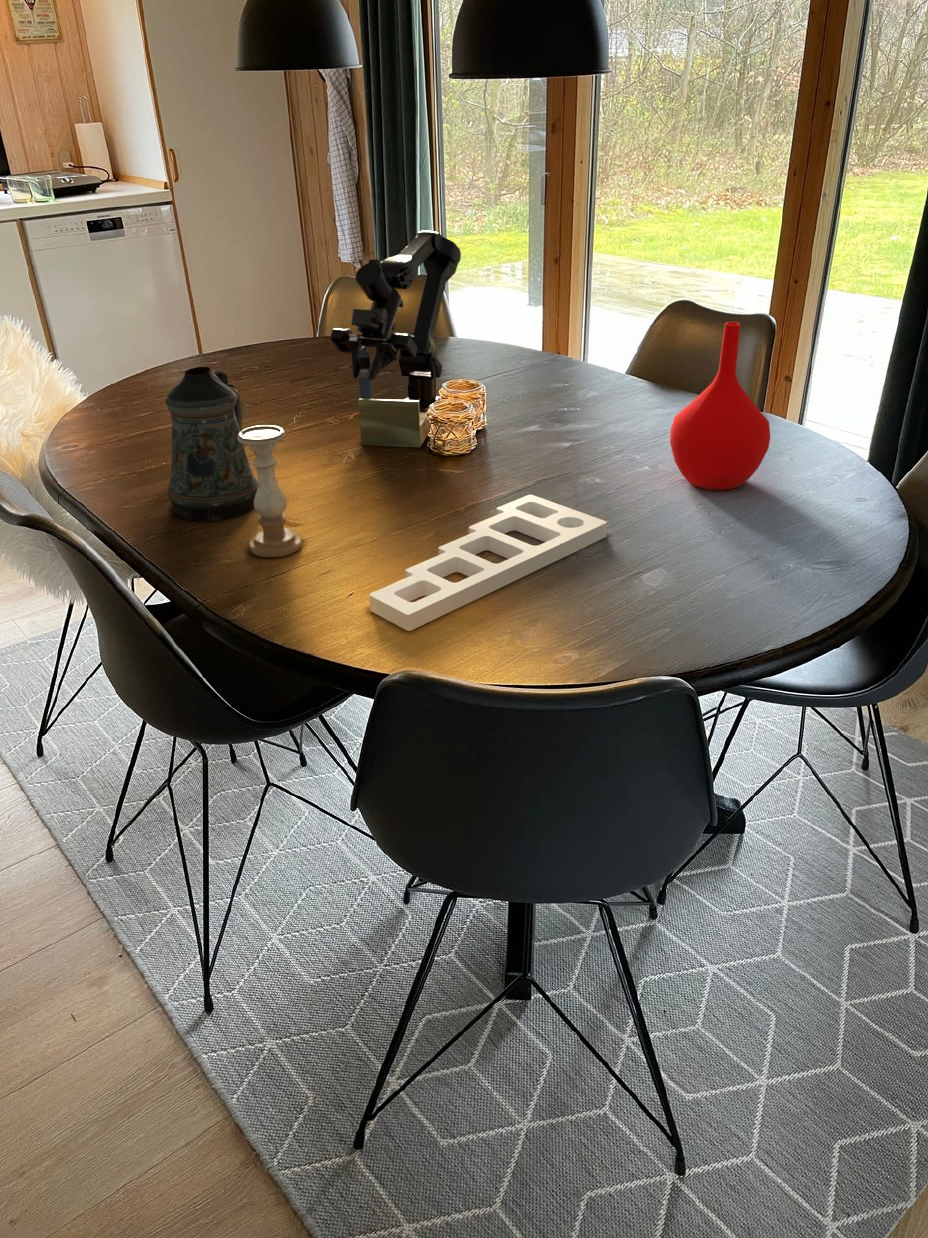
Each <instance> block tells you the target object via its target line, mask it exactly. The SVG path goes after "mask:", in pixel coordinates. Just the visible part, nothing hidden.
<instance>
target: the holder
mask: <svg viewBox="0 0 928 1238" xmlns="http://www.w3.org/2000/svg"><path fill="white" fill-rule="evenodd" d="M607 526H608V521H606V520H604V519H601V518H598V517H596V516H592V515H590V514H587V513H585V512H582V511H579V510H575V509H574V508H570V507H567V506H564V505H561V504H560V503H556V502H553V501H550V500H548V499H546V498H542V497H539V496H538V495H537V496H536V495H533V494H527V495H525V496H522V497H520V498H517V499H515V500H512V501H510V502H508V503H504V504H503V505H500V506H498V507H496V515H493V516H491V517H489V518H486V519H484V520H481V521H478V522H476V523H474V524H472V525H469V526H468V534H466V535H464V536H462V537H461V536H460V537H459V538H457V539H455V540H451V541H449V542H447V543H445V544H443V545H440V546H438V555H436V556H433V557H431V558H429V559H427V560H423V561H421V562H419V563H416V564H415V565H412V566H410V567H408V568H405V578H402V579H400V580H398V581H395V582H394V583H391V584H389V585H386V586H384V587H382V588H380V589H377V590H375V591H372V592H370V593H369V594H368V595H369V596H368V597H369V605H370V606H369V608H370V609H369V610H370V612H371V613H373V614H375V615H377V616H379V617H381V618H382V619H384V620H386V621H388V622H390V623H392V624H394V625H396V626H397V627H399V628H401V629H403V630H405V631H406V632H411V631H413V630H415V629H417V628H419V627H421V626H423V625H426V624H428V623H430V622H432V621H434V620H436V619H438V618H440V617H442V616H444V615H447V614H449V613H451V612H453V611H455V610H457V609H459V608H461V607H463V606H465V605H467V604H469V603H471V602H473V601H476V600H478V599H480V598H482V597H484V596H486V595H489V594H490V593H492V592H495V591H497V590H498V589H500V588H503V587H505V586H507V585H509V584H512V583H513V582H516V581H517V580H520V579H522V578H524V577H526V576H528V575H530V574H532V573H534V572H536V571H538V570H540V569H542V568H544V567H546V566H549V565H551V564H553V563H555V562H557V561H559V560H562V559H563V558H565V557H568V556H569V555H571V554H574V553H576V552H578V551H580V550H582V549H584V548H586V547H588V546H591V545H592V544H595V543H596V542H599V541H600V540H603V539H605V538H607ZM513 531H514V532H515V531H516V532H519V533H522V534H523V535H526V536H529V537H531V538H534V539H537V540H539V541H541V542H543V543H541V544H538V545H532V544H530V543H528V542H524V541H522V540H519V539H518V538H515V537H512V536H510V535H507V533H509V532H513ZM485 551H487V552H488V551H489V552H491V553H494V554H496V555H498V556H501V557H503V558H505V559H506V560H503V561H502V562H499V563H494V562H491V561H489V560H487V559H486V558H485V559H484V558H482V557H480V556H477V554H480V553H482V552H485ZM453 573H460V574H462V575H464V576H466V577H467V578H464V579H462V580H460V581H457V582H452V581H449V580H447V579H446V578H445V577H447V576H449V575H452V574H453ZM421 597H423V598H421ZM418 598H421V599H418ZM416 599H418V600H416ZM414 600H416V601H414Z"/></svg>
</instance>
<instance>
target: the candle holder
mask: <svg viewBox="0 0 928 1238" xmlns="http://www.w3.org/2000/svg"><path fill="white" fill-rule="evenodd" d="M285 437H286V432H285V430H284V429H283V428H282V427H280V426H278V425H271V424H262V425H254V426H250V427H246V428H243V429H241V431H240V432H239V433H238V435H237V439H238V441H239V442H240V443H242V444H244V446H248V447H249V449H250V450H251V451H252V452H253V453H254V455H255V458H254V459H253V462H252V466H253V467H255V468H256V472H257V481H258V488H257V491H256V494H255V497H254V507H253V509H254V511H255V512H256V514H258V515H259V516H258V518H257V523H258V524H259V526H261V527H262V530H260V531H259V532H257V533H256V534H255V535H254V537H253V538H252V539H251V540H250V541H249V543H248V548H249V551H250V552H251V553H252V554H253V555H255V556H257V557H261V558H279V557H285V556H288V555H291V554H294V553H295V552H297V551H299V550H300V548H301V546H302V538H301V536H300V535H298V533H296V532H294V531H293V530H291V529H290V528H286V527H284V526H285V523H286V521H287V519H288V517H287V515H286V514H284V512H285V511H286V509H287V504H288V503H287V498H286V495H285V494H284V492H283V490H282V489H281V488H280V486H279V484H278V481H277V478H276V477H277V476H276V473H275V466H276V465H277V464H278V462H277V460H276V458H275V457H274V456H273V451H274V449H275V448H276V445H277V443H279V442H281V441H282V440H284V439H285Z"/></svg>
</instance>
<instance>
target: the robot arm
mask: <svg viewBox="0 0 928 1238" xmlns="http://www.w3.org/2000/svg"><path fill="white" fill-rule="evenodd" d="M461 258H462V252H461V249H460V247H458V245H457V244H456V243H455V242H454V241H452V240H451V239H449V238H446V237H445V236H443V235H442V234H441V233H440V232H437V231H434V230H433V231H432V230H421V231H418V232H417V233H416V236H415V237H414V239H412V240H411V242H410V243H408V244H407V246H405V248H403V250H401V252H400V253H398V254H397V255H393V256H390V257H387V258H385V259H383V260H381V261H380V260H379V258H369V260H368V263H365V264H363V265H361V267H360V268H359V269H358V270H357V271H356V273H355V282H356V283H357V285H358V286H359V287H360V289H361V290H362V292H363V293H364V295H365V296H366V298H367V299H368V300H369V301H371V305H370V308H369V309H363V308H362V309H359V308H353V309H352V313H351V321H350V325H351V326H356V327H357V332H358V333H359V334H361V335H359V334H356V333H353V332H352V330H351V329H350V328H341V327H335V328H333V329H332V330H331V332H330V335H329V340H330V341H331V342H332V343H333V345H334V346H335V347H336V349H337V350H338V351H339V352H341V353H347V354H348V353H349V354H350V355H351V364H352V365H351V366H352V377H353V378H354V379H357V378H359V373H360V372H359V371H360V367H359V356H358V354H359V353H361V349H365V347H368V348H371V347H372V348H375V349H376V351H375V354H374V359H373V362H372V364H371V366H370V369H371V370H370V375H369V379H370V380H372V381H373V380H374V379H375V378H376V377H377V376H378V375H379V374H380V373H381V372H382V371H383V370H384V369H385V368H386V367H388V366H389V365H390V364H391V363H392V362H394V361H397V360H398V364H399V368H400V373H401V376H402V377H407V379H408V380H407V381H408V382H407V397H406V398H404V400H419V406H426V405H429V404H433V403H435V402H437V401H436V400H438V399H439V398H441V397H440V396H437V383H436V381H437V380H436V379H440V378H441V376H442V372H443V365H442V363H441V361H440V359H439V358H438V357H437V352H438V351H437V347H436V344H435V342H434V336H435V332H436V327H437V324H438V319H439V314H440V311H441V306H442V301H443V298H444V294H445V288H446V284H447V282H448V281H449V280H450V279H451V278H453V276H454V275H455V274H456V271H457V268H458V266H459V263H460V262H461ZM422 264H423V267H424V268H423V269H424V270H425V273H426V277H425V281H424V286H423V290H422V294H421V298H420V303H419V306H418V311H417V315H416V319H415V324H414V328H413V332H412V333H410V334H409V333H401V332H393V333H392V331H395V330H396V326H397V325H396V324H395V320H396V318H397V314H398V312H399V311H398V310H399V308H404V301H403V299H402V295H401V294H400V293H399V292H398V290H409V289H410V287H411V286H412V284H413V283H414V281H415V280H416V276H415V272H416V270H418V269H419V267H420V266H421V265H422ZM398 353H399V354H398ZM438 401H439V400H438Z"/></svg>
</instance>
